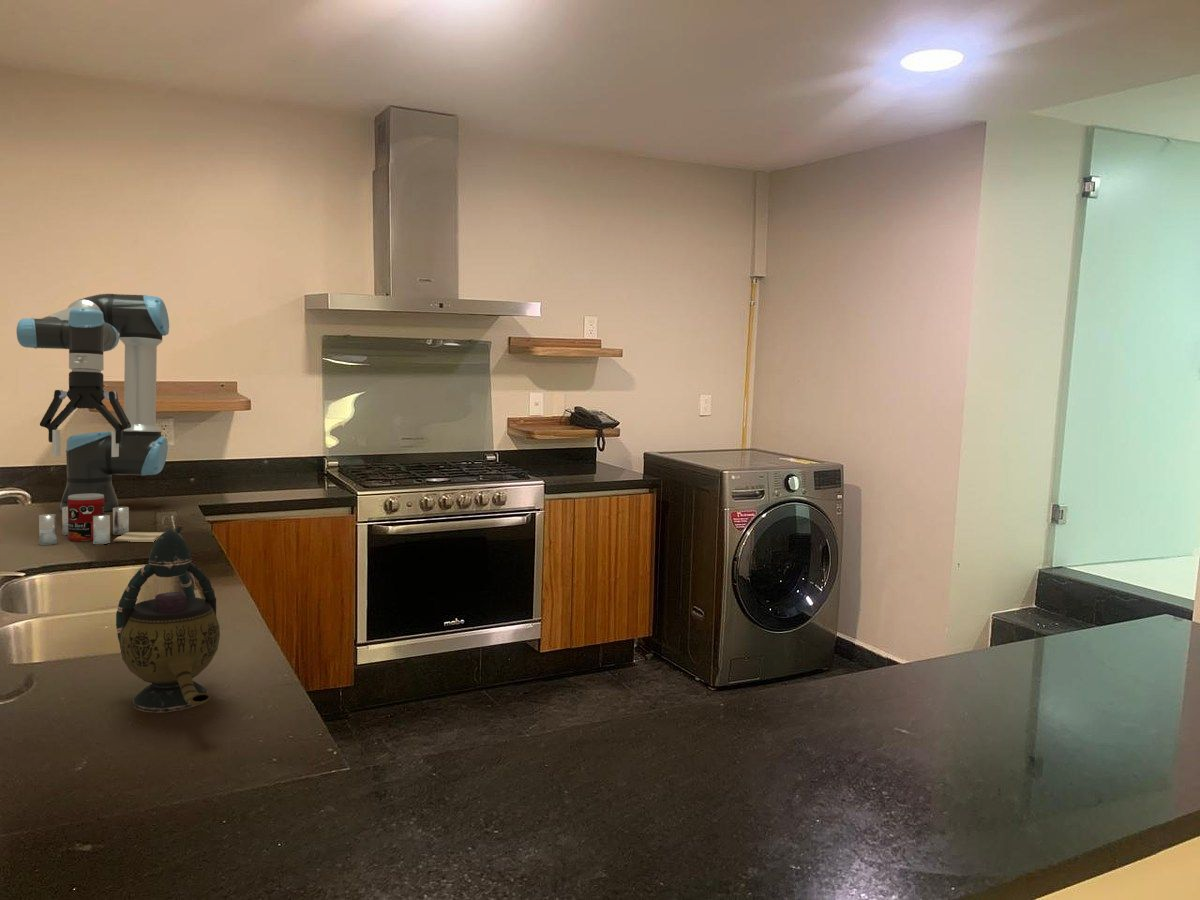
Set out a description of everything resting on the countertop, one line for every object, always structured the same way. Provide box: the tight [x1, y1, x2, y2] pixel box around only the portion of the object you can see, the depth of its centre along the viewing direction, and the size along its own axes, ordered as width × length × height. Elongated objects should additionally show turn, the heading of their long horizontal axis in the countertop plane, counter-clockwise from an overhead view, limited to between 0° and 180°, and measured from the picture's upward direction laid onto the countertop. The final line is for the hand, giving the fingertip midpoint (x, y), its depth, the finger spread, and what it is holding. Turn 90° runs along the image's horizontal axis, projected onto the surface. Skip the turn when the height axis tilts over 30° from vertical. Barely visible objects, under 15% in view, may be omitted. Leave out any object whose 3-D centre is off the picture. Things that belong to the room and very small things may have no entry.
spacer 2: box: [61, 506, 68, 536], centre depth 228 cm, size 4×4×7 cm
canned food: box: [67, 493, 105, 542], centre depth 223 cm, size 8×8×11 cm
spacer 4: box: [112, 506, 130, 535], centre depth 230 cm, size 4×4×7 cm
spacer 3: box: [92, 514, 111, 544], centre depth 217 cm, size 4×4×7 cm
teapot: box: [115, 526, 221, 713], centre depth 115 cm, size 12×25×23 cm, turn 37°
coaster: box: [113, 531, 165, 543], centre depth 225 cm, size 10×9×1 cm
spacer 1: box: [38, 513, 58, 546], centre depth 215 cm, size 4×4×7 cm
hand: (85, 456), depth 223 cm, fingers open, 13 cm apart
